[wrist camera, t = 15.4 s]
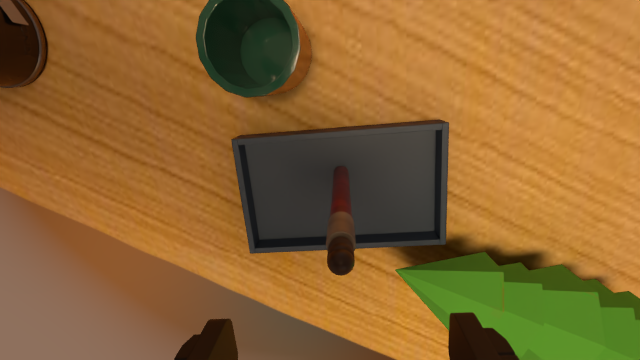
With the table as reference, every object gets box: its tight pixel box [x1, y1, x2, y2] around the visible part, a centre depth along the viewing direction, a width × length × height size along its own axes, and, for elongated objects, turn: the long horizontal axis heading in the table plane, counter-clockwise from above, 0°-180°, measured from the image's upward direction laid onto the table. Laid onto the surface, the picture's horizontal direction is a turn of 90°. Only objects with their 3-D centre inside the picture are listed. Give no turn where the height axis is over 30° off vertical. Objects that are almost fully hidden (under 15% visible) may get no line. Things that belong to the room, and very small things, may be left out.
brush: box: [326, 166, 356, 275], centre depth 24 cm, size 2×2×18 cm
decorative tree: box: [395, 252, 640, 360], centre depth 31 cm, size 11×12×30 cm
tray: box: [232, 120, 449, 253], centre depth 33 cm, size 20×12×3 cm, turn 95°
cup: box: [196, 0, 312, 97], centre depth 26 cm, size 7×7×9 cm
